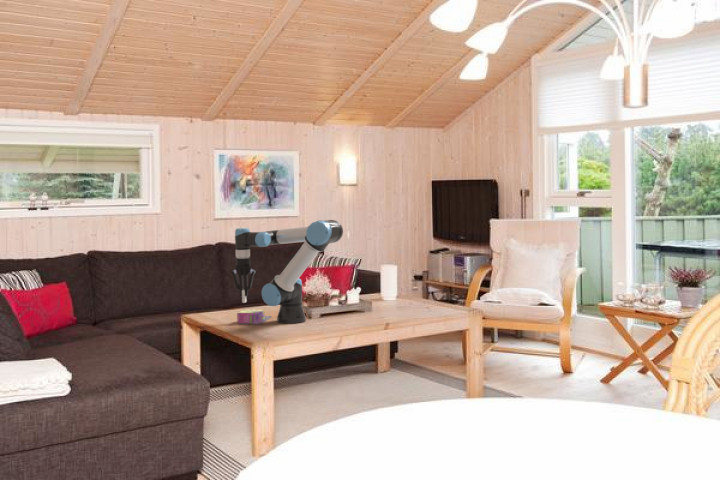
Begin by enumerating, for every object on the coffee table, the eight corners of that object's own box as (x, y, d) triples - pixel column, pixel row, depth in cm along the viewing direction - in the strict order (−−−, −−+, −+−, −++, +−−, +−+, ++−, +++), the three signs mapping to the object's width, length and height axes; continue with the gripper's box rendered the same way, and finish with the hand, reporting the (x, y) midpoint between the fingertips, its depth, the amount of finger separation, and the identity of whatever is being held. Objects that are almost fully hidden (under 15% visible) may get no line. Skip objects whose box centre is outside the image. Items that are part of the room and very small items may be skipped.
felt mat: (271, 316, 404) (271, 316, 404) (259, 324, 380) (259, 323, 380) (252, 316, 405) (252, 315, 405) (239, 324, 382) (239, 323, 382)
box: (237, 323, 382) (259, 323, 381) (236, 312, 382) (258, 312, 380) (243, 320, 393) (264, 320, 391) (243, 309, 392) (264, 309, 390)
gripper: (257, 256, 388) (258, 301, 389) (233, 257, 390) (234, 301, 391) (252, 258, 380) (254, 303, 382) (228, 258, 382) (230, 303, 384)
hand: (244, 302), depth 386 cm, fingers closed
